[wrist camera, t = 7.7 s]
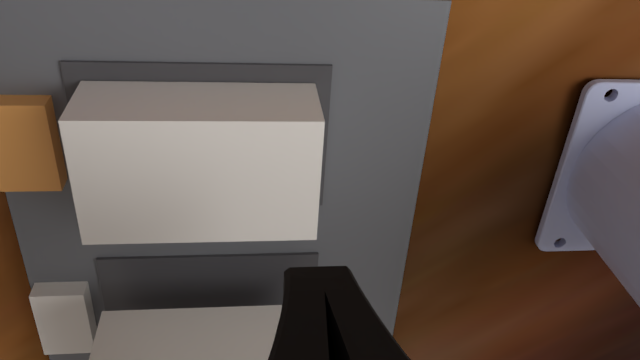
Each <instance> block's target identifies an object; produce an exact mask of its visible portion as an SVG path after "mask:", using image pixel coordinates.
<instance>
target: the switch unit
mask: <svg viewBox="0 0 640 360" xmlns="http://www.w3.org/2000/svg"><path fill="white" fill-rule="evenodd" d="M450 6H451V0H0V192H5V194H6V197H7V201H8V205H9V209H10V212H11V216H12V220H13V224H14V227H15V231H16V235H17V239H18V242H19V246H20V250H21V254H22V257H23V261H24V265H25V269H26V272H27V276H28V280H29V284H30V287H31V292H30V295H29V300H30V304H31V308H32V311H33V315H34V319H35V322H36V326H37V330H38V333H39V337H40V341H41V344H42V348H43V352H44V355H49V359H50V360H89V357H90V353H91V350H92V346H93V342H94V339H95V335H96V331H97V328H98V324H99V320H100V317H101V313H102V311H120V310H149V309H178V308H207V307H237V306H266V305H282V304H283V283H284V271H285V270H287V269H288V268H289V267H318V266H347V267H348V268H349V269H350V270H351V272H352V274H353V275H354V277H355V279H356V281H357V283H358V284H359V286H360V288H361V290H362V291H363V293H364V295H365V296H366V298H367V299H368V301H369V302H370V304H371V306H372V307H373V309H374V310H375V312H376V313H377V315H378V316H379V318H380V319H381V321H382V322H383V324H384V325H385V326H386V328H387V329H388V331H389V332H390V333H391V335H392V336H393V331H394V325H395V320H396V314H397V308H398V303H399V297H400V291H401V286H402V280H403V274H404V268H405V263H406V257H407V251H408V246H409V240H410V234H411V229H412V223H413V217H414V211H415V206H416V200H417V194H418V189H419V183H420V177H421V172H422V166H423V160H424V155H425V149H426V143H427V137H428V132H429V126H430V120H431V115H432V109H433V103H434V98H435V92H436V86H437V80H438V75H439V69H440V63H441V58H442V52H443V46H444V41H445V35H446V29H447V23H448V18H449V12H450ZM80 81H149V82H239V83H315V84H316V88H317V92H318V96H319V100H320V104H321V108H322V112H323V116H324V120H325V128H324V142H323V156H322V170H321V184H320V199H319V213H318V227H317V240H288V241H241V242H193V243H146V244H98V245H82V241H81V236H80V230H79V225H78V220H77V215H76V210H75V205H74V200H73V195H72V189H71V184H70V179H69V174H68V169H67V164H66V159H65V154H64V148H63V143H62V138H61V133H60V128H59V123H58V120H59V118H60V117H61V115H62V113H63V111H64V110H65V108H66V106H67V104H68V102H69V101H70V99H71V97H72V95H73V94H74V92H75V90H76V88H77V87H78V85H79V83H80Z"/></svg>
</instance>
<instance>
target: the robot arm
mask: <svg viewBox="0 0 640 360" xmlns="http://www.w3.org/2000/svg"><path fill="white" fill-rule="evenodd" d="M610 89H613V90H612V93H611V94H610V95H609V96H607V97H604V95H605V94H606V92H607V91H609V90H610ZM560 238H561V239H560ZM557 239H560V240H559V241H557V242H555V241H556V240H557ZM535 243H536V245H537V247H538V248H539V249H540V250H541V251H582V250H596V251H597V253H598V254H599V255H600V257H601V258H602V259H603V260H604V262H605V263H606V264H607V266H608V267H609V268H610V270H611V271H612V272H613V273H614V275H615V276H616V277H617V279H618V280H619V281H620V282H621V284H622V285H623V286H624V288H625V289H626V290H627V291H628V293H629V294H630V295H631V297H632V298H633V299H634V301H635V302H636V303H637V304H638V306H639V307H640V80H631V79H596V80H592V81H590V82H588V83H587V84H586V85H585V86H584V88H583V90H582V92H581V95H580V98H579V101H578V104H577V108H576V111H575V114H574V117H573V120H572V123H571V127H570V130H569V133H568V136H567V139H566V142H565V145H564V149H563V152H562V155H561V158H560V161H559V164H558V168H557V171H556V174H555V177H554V180H553V183H552V187H551V190H550V193H549V196H548V199H547V202H546V205H545V209H544V212H543V215H542V218H541V221H540V224H539V228H538V231H537V234H536V237H535ZM268 360H410V358H409V357H408V356H407V355H406V353H405V352H404V351H403V350H402V348H401V347H400V346H399V344H398V343H397V342H396V340H395V339H394V337H393V336H392V335H391V333H390V332H389V331H388V329H387V328H386V326H385V325H384V324H383V322H382V321H381V319H380V318H379V316H378V315H377V313H376V312H375V310H374V309H373V307H372V306H371V304H370V302H369V301H368V299H367V298H366V296H365V295H364V293H363V291H362V290H361V288H360V286H359V284H358V283H357V281H356V279H355V277H354V275H353V274H352V272H351V270H350V269H349V268H348V267H347V266H318V267H289V268H288V269H287V270H285V271H284V283H283V304H282V309H281V314H280V319H279V323H278V327H277V330H276V334H275V338H274V342H273V345H272V349H271V352H270V355H269V357H268Z"/></svg>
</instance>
